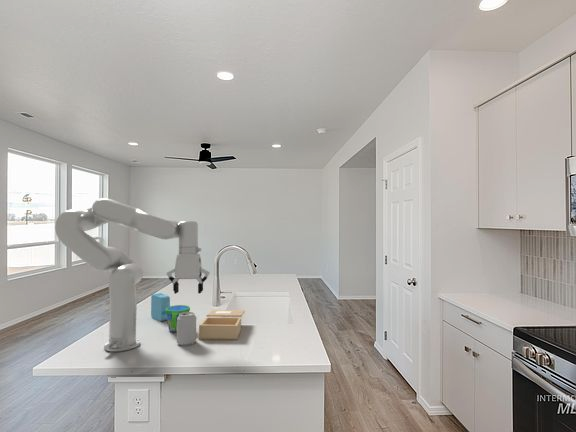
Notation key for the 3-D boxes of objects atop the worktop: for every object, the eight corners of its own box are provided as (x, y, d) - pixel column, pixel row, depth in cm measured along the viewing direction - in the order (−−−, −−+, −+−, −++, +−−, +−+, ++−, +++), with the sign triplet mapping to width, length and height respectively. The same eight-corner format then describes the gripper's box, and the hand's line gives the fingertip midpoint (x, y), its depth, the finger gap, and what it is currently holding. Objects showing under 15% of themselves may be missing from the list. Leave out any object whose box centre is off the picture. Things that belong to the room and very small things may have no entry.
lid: (244, 310, 162) (244, 311, 162) (212, 309, 162) (212, 311, 162) (241, 315, 150) (241, 316, 150) (206, 314, 150) (206, 316, 150)
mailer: (236, 340, 137) (237, 325, 137) (198, 339, 137) (199, 325, 137) (241, 330, 149) (241, 317, 149) (206, 330, 149) (206, 317, 149)
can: (188, 338, 138) (189, 310, 139) (199, 342, 134) (200, 313, 134) (172, 343, 133) (173, 313, 133) (183, 347, 128) (184, 317, 128)
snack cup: (183, 336, 141) (184, 312, 142) (159, 335, 141) (159, 312, 142) (193, 325, 157) (194, 303, 157) (172, 324, 157) (172, 303, 157)
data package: (169, 320, 164) (170, 296, 165) (160, 322, 161) (161, 297, 162) (159, 315, 173) (159, 292, 173) (150, 317, 170) (151, 293, 170)
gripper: (211, 250, 138) (211, 290, 137) (170, 250, 138) (170, 291, 137) (207, 251, 130) (207, 294, 130) (163, 251, 130) (163, 295, 130)
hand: (188, 292), depth 134 cm, fingers open, 9 cm apart
